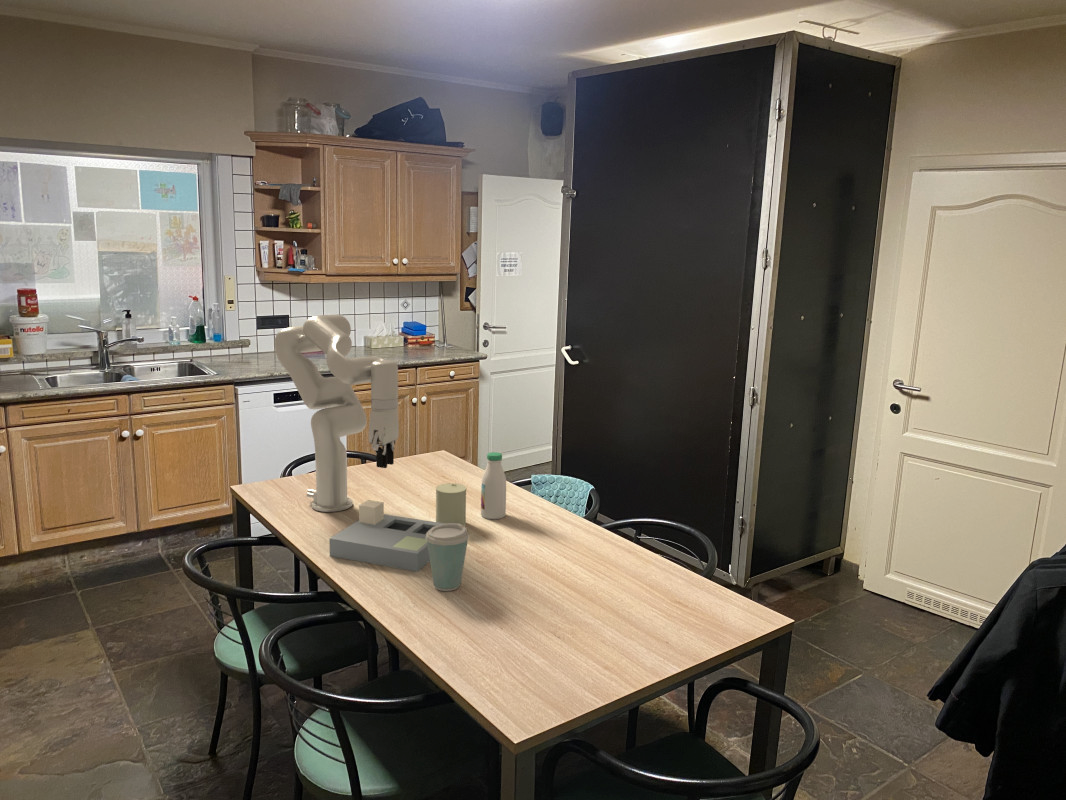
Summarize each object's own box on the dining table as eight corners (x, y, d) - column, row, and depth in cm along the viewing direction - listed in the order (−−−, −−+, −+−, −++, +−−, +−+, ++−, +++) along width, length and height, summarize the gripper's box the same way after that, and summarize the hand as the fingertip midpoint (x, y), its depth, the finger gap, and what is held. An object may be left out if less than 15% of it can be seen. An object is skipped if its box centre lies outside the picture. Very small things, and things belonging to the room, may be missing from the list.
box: (329, 556, 208) (329, 538, 207) (371, 528, 229) (371, 512, 227) (417, 571, 200) (417, 553, 199) (452, 541, 221) (452, 524, 220)
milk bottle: (509, 514, 244) (511, 452, 240) (498, 521, 237) (500, 458, 233) (488, 509, 247) (489, 449, 243) (476, 517, 240) (477, 454, 236)
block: (359, 522, 219) (358, 505, 218) (368, 516, 224) (368, 499, 223) (374, 524, 218) (374, 507, 217) (383, 518, 222) (383, 502, 221)
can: (468, 520, 238) (469, 482, 235) (463, 531, 229) (463, 492, 226) (439, 518, 239) (439, 480, 236) (432, 528, 230) (432, 490, 227)
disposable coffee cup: (433, 598, 186) (434, 539, 183) (418, 580, 195) (419, 524, 192) (474, 590, 191) (475, 533, 188) (458, 573, 200) (459, 518, 197)
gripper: (387, 397, 230) (387, 457, 234) (358, 408, 215) (358, 471, 219) (409, 399, 228) (409, 460, 232) (382, 410, 213) (382, 475, 217)
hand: (385, 465), depth 225 cm, fingers open, 3 cm apart
